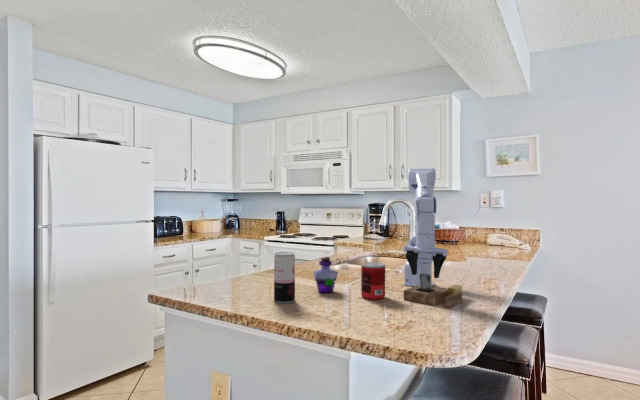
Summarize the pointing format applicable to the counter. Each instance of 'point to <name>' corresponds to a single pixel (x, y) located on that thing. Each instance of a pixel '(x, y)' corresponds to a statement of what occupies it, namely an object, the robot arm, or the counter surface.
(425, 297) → the mount
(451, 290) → the khaki rectangular plank
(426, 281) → the peg
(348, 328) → the counter surface
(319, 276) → the potion bottle
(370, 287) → the canned food
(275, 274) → the beverage can
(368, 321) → the counter surface
